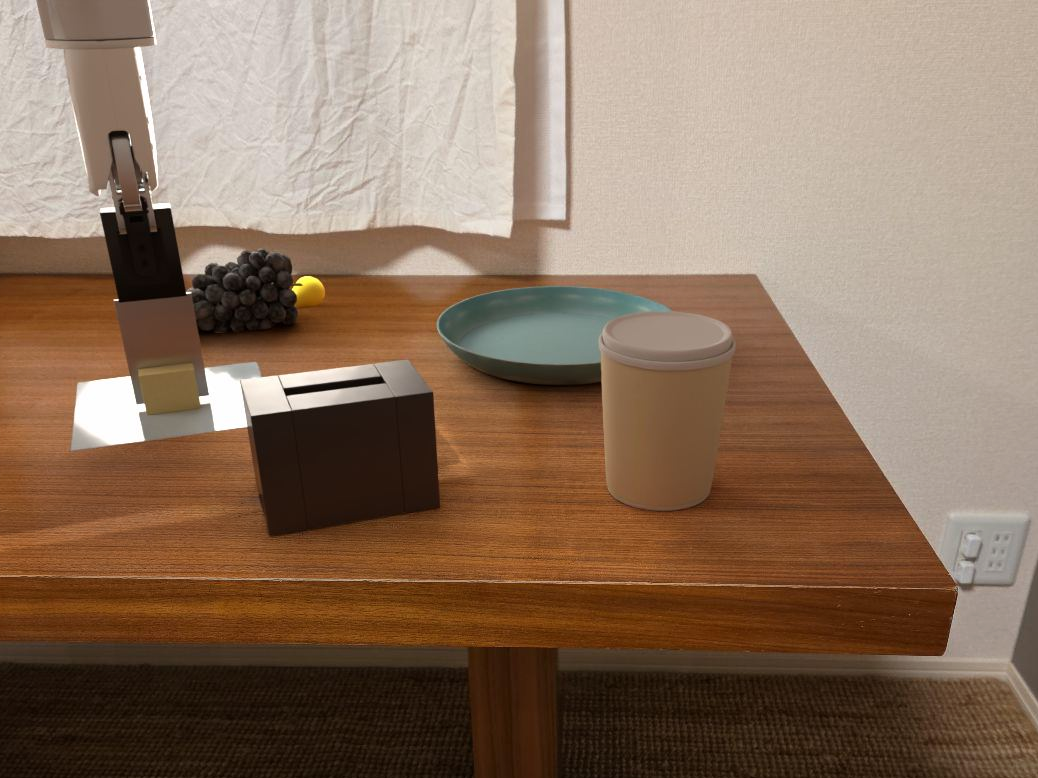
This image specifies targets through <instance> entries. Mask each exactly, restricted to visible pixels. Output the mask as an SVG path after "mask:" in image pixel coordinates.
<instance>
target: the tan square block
mask: <svg viewBox="0 0 1038 778" xmlns="http://www.w3.org/2000/svg"><path fill="white" fill-rule="evenodd" d="M138 375H139V381H140V385H141V390H142V395H143V399H144V404H145V409H146V413H147V415H152V414H160V413H167V412H175V411H183V410H190V409H198V408H201V404H200V399H199V393H198V388H197V382H196V377H195V371H194V366H193V363H185V364H177V365H168V366H160V367H151V368H143V369H138Z"/></svg>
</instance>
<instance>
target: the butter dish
mask: <svg viewBox="0 0 1038 778" xmlns="http://www.w3.org/2000/svg"><path fill="white" fill-rule="evenodd" d="M204 368H205V373H206V379H207V384H208V390H209V396H201V397H199V399H200V404H201V408H198V409H190V410H183V411H175V412H167V413H160V414H152V415H147V413H146V409H145V404H139V405H136V400H135V396H134V391H133V387H132V382H131V377H130V376H122V377H121V376H120V377H114V378H106V379H105V378H104V379H98V380H89V381H88V380H87V381H80V382H77V383H76V392H75V401H74V410H73V422H72V430H71V441H70V452H76V451H84V450H92V449H98V448H106V447H113V446H114V447H115V446H120V445H128V444H136V443H143V442H149V441H158V440H164V439H171V438H172V439H173V438H180V437H187V436H195V435H201V434H211V433H216V432H223V431H231V430H237V429H238V430H239V429H247V422H246V416H245V410H244V404H243V397H242V391H241V385H240V380H244V379H252V378H260V377H263V374H262V372H261V369H260V367H259V363H258V362H257V361H249V362H241V363H232V364H225V365H214V366H208V367H206V366H205V367H204Z"/></svg>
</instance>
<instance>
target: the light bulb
mask: <svg viewBox="0 0 1038 778" xmlns="http://www.w3.org/2000/svg"><path fill="white" fill-rule="evenodd" d="M296 283H301V284H302V285H303V286H292V287H293V288H292V289H291V290H293V291H294V292H295V294H296V295H297V302H296V303H295V306H296V308H297V309H307V308H315V307H316V308H317V307H318V306H319V305H321V303H322V302H323V300H324V298H325V297H326V291H325V286H324V284H323V283H322V282H321V281H320V280H319V278H316V277H313V276H311V275H309V276H308V275H307V276H306V275H305V276H302V277H300V278H299V279H298V280H297V281H296Z"/></svg>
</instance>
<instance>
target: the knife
mask: <svg viewBox="0 0 1038 778" xmlns="http://www.w3.org/2000/svg"><path fill="white" fill-rule="evenodd" d="M152 206H153V211H154V216H155V222H156V227H157V230H161V235H162V241H163V246H164V251H165V257H166V262H167V268H168V273H169V281H168V282H166V283H157V284H147V285H136V286H131V285H129V284H128V283H127V280H126V275H125V270H124V265H123V260H122V256H121V251H120V246H119V241H118V236H117V233H120V231H119V226H118V222H117V217H116V212H115V207H114V206H110V207H100V208H99V216H100V220H101V221H100V222H101V226H102V230H103V234H104V239H105V244H106V248H107V254H108V257H109V263H110V267H111V271H112V278H113V281H114V285H115V290H116V296H117V298H118V299H113V304H114V309H115V312H116V313H115V314H116V318H117V321H118V327H119V331H120V335H121V341H122V344H123V345H122V346H123V350H124V354H125V358H126V364H127V367H128V372H129V377H131V382H132V387H133V391H134V396H135V400H136V405H139V404H144V399H143V395H142V390H141V385H140V381H139V375H138V369H143V368H151V367H160V366H168V365H177V364H185V363H193V366H194V371H195V377H196V382H197V388H198V393H199V397H201V396H209V390H208V384H207V379H206V373H205V368H206V367H205V363H204V358H203V352H202V351H203V350H202V346H201V340H200V335H199V331H198V328H197V323H196V317H195V312H194V306H193V300H192V295H191V292H188V293H186V291H187V290H186V284H185V279H184V274H183V267H182V262H181V256H180V251H179V246H178V240H177V234H176V229H175V223H174V219H173V212H172V207H171V203H170V202H165V203H164V202H163V203H152ZM147 219H148V216H147ZM148 223H149V222H148ZM149 230H150V227H149ZM127 233H128V232H127Z"/></svg>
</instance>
